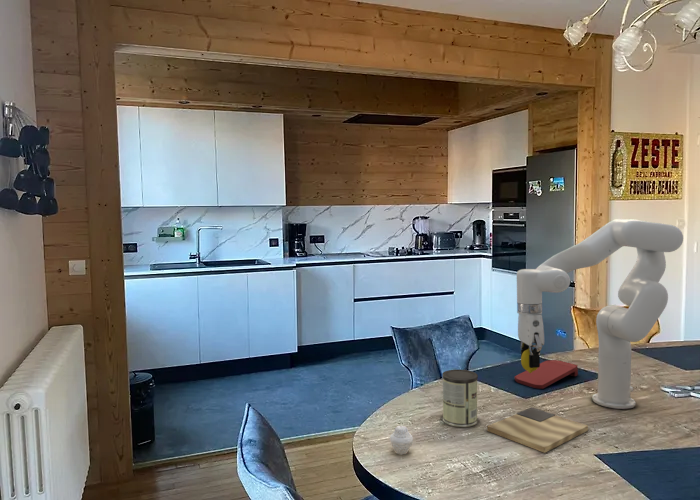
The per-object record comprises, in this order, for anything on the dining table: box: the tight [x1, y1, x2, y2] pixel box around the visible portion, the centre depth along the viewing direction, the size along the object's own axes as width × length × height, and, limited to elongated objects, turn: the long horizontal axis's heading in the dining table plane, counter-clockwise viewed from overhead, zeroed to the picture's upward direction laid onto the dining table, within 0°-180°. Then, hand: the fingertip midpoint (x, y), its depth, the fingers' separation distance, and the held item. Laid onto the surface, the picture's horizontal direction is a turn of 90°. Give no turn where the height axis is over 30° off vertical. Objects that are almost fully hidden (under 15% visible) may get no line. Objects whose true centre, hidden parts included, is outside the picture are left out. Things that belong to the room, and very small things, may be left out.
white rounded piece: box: [389, 425, 414, 455], centre depth 139 cm, size 6×6×7 cm
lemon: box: [520, 349, 538, 373], centre depth 170 cm, size 6×6×8 cm
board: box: [486, 406, 589, 454], centre depth 151 cm, size 22×18×2 cm
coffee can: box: [441, 369, 479, 428], centre depth 159 cm, size 10×10×14 cm
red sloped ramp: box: [514, 359, 579, 389], centre depth 198 cm, size 12×5×25 cm
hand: (530, 363), depth 170 cm, fingers closed on lemon, 5 cm apart
